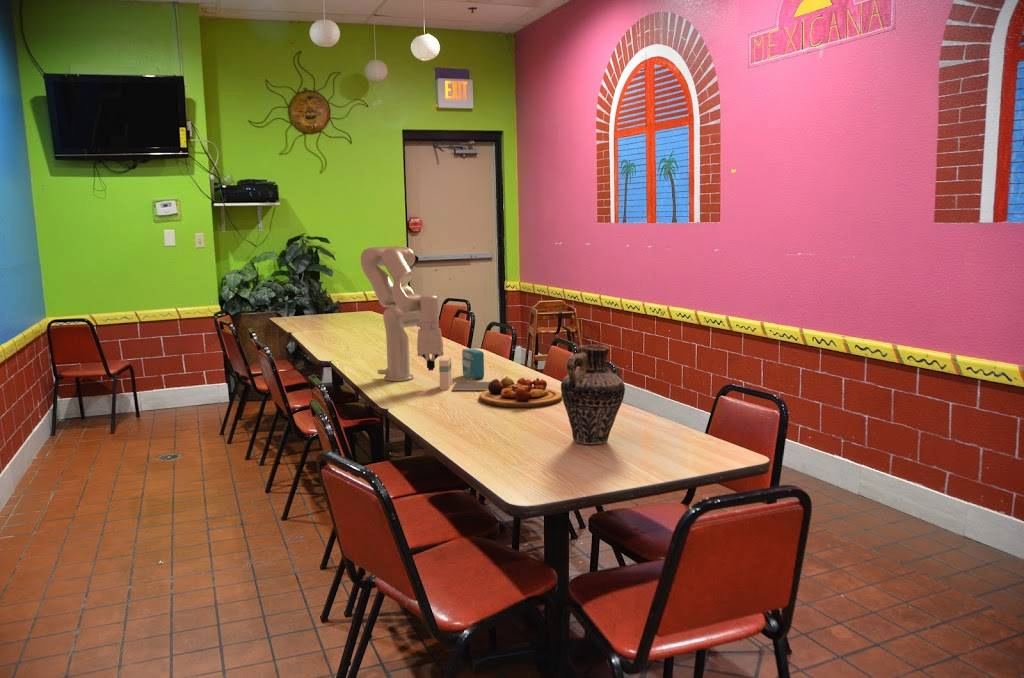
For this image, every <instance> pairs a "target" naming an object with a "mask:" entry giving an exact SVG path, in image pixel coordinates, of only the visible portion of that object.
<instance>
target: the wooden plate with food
mask: <svg viewBox="0 0 1024 678" xmlns="http://www.w3.org/2000/svg"><path fill="white" fill-rule="evenodd" d="M489 382H490V384H489V386H488V390H487V391H481V392H480V393H479V396H478V398H479V401H481V402H482V403H484V404H486V405H489V406H490V405H491V406H494V407H495V406H496V407H502V408H503V407H504V408H521V409H522V408H538V407H547V406H551V405H555V404H558V403H560V402H562V401H563V398H562V392H560V391H558V390H555V389H550V388H547V386H548V382H547V381H546V380H545V379H544V378H542V379H540V378H539V377H536V379H533V380H531V379H530V378H529V379H528V378H527V379H525V378H524V377H520V378H518V379H517V381H516V383H515V382H514V380H513V379H512V378H511V377H508V376H506V377H504V378H502V379H501V380H500V379H498V378H494V379H493V380H491V381H489Z"/></svg>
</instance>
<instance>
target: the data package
mask: <svg viewBox="0 0 1024 678" xmlns="http://www.w3.org/2000/svg"><path fill="white" fill-rule="evenodd" d="M461 353H462V354H461V357H462V358H461V360H462V362H461V363H462V365H461V366H462V374H463V375H462V376H463V377H466V378H468V377H469V379H471V378H472V379H471V380H481V378H482V379H483V378H484V377H485V358H484V357H485V354H484V351H483V350H480V349H477V348H473V347H472V348H464V349H462V351H461Z"/></svg>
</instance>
